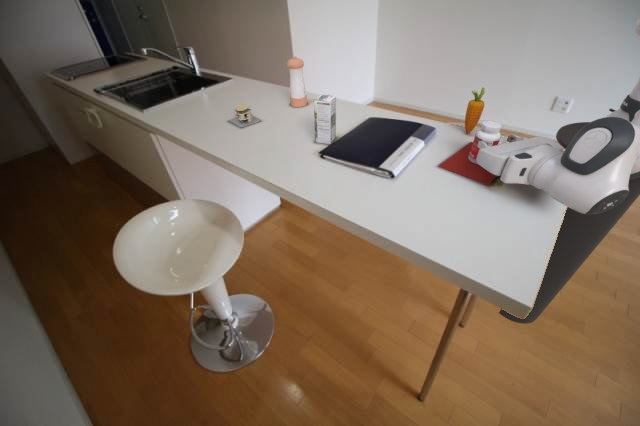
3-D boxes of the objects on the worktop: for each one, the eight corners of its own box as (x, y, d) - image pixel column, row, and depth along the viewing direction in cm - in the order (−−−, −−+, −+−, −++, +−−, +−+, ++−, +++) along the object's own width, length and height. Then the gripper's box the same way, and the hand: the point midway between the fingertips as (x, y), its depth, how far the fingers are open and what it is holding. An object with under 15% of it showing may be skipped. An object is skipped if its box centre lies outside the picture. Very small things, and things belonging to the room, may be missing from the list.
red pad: (470, 143, 94) (471, 141, 93) (517, 157, 85) (517, 155, 85) (438, 166, 83) (439, 164, 83) (487, 185, 75) (488, 183, 75)
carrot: (463, 137, 97) (476, 91, 87) (457, 131, 101) (469, 86, 91) (477, 136, 97) (493, 90, 87) (471, 130, 101) (485, 85, 91)
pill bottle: (472, 166, 82) (485, 129, 75) (464, 155, 86) (475, 120, 79) (494, 165, 82) (509, 128, 74) (485, 155, 86) (498, 119, 79)
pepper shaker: (298, 108, 125) (294, 59, 113) (287, 104, 129) (282, 57, 116) (310, 103, 129) (307, 55, 116) (299, 100, 133) (295, 53, 120)
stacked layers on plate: (228, 121, 117) (225, 107, 113) (247, 114, 121) (245, 101, 118) (241, 127, 111) (238, 113, 108) (260, 121, 116) (258, 107, 112)
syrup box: (320, 135, 103) (318, 93, 93) (336, 137, 101) (336, 95, 92) (315, 142, 99) (312, 99, 89) (331, 144, 97) (330, 101, 88)
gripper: (581, 145, 67) (531, 123, 77) (509, 160, 63) (466, 135, 73) (567, 168, 71) (521, 144, 81) (498, 184, 67) (459, 157, 77)
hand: (495, 140), depth 77 cm, fingers open, 8 cm apart
